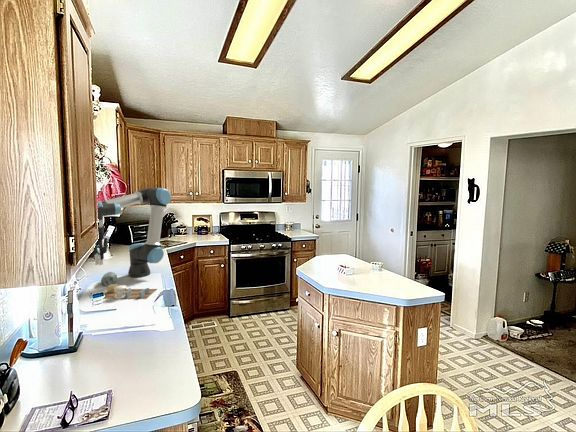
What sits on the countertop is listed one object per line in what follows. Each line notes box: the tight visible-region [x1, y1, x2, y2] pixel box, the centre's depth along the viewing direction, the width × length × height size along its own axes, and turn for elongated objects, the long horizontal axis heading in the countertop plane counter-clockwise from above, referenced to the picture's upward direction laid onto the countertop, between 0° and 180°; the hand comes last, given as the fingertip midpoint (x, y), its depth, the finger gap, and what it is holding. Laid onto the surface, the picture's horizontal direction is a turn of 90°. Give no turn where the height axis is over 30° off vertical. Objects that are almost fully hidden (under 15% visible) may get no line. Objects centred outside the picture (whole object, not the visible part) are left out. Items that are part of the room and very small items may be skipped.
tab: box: [106, 283, 119, 293], centre depth 218 cm, size 5×4×4 cm
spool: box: [100, 271, 118, 287], centre depth 235 cm, size 14×10×10 cm
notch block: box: [125, 287, 150, 298], centre depth 210 cm, size 8×12×4 cm, turn 90°
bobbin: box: [114, 284, 128, 300], centre depth 208 cm, size 7×7×6 cm
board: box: [102, 288, 158, 300], centre depth 214 cm, size 18×29×1 cm, turn 90°
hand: (99, 264), depth 216 cm, fingers open, 2 cm apart
